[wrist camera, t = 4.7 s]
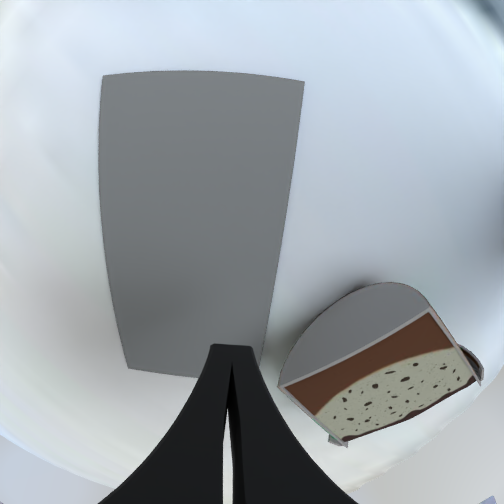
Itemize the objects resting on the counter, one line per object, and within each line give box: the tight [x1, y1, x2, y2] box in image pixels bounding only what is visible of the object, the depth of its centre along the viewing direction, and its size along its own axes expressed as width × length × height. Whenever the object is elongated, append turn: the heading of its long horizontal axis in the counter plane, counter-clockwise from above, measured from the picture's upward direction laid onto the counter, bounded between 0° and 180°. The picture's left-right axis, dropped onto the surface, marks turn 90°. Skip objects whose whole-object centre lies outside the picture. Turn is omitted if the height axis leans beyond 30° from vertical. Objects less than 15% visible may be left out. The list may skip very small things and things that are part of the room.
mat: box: [99, 71, 305, 378], centre depth 16 cm, size 10×20×1 cm, turn 174°
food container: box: [277, 282, 484, 448], centre depth 17 cm, size 12×6×10 cm
